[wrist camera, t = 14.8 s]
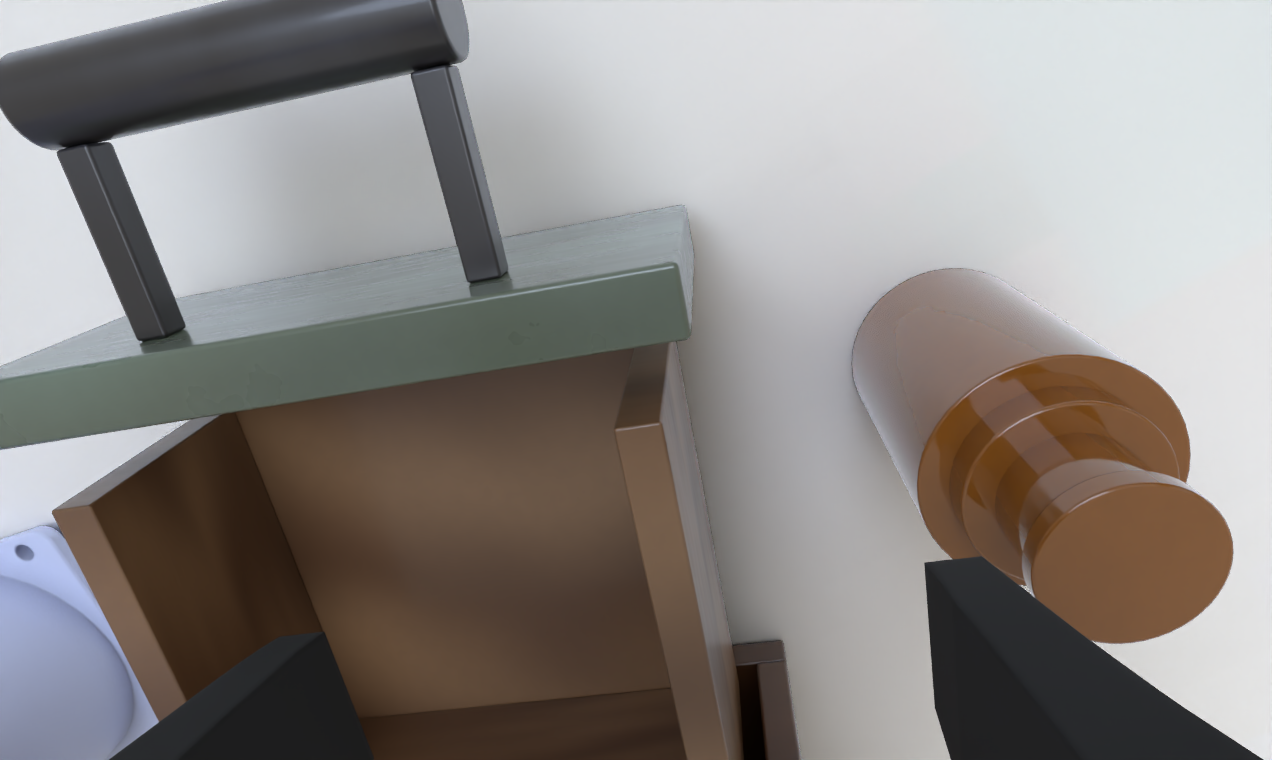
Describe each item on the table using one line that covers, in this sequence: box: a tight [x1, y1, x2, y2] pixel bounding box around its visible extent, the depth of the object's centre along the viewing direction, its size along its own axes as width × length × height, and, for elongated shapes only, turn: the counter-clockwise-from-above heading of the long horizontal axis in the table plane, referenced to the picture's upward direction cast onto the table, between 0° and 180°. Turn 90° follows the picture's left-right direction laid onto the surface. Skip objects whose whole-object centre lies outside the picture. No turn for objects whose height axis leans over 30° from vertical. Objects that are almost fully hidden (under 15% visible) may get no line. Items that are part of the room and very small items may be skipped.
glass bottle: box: [852, 268, 1233, 644], centre depth 14 cm, size 4×4×8 cm
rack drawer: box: [0, 0, 744, 760], centre depth 16 cm, size 17×12×6 cm
